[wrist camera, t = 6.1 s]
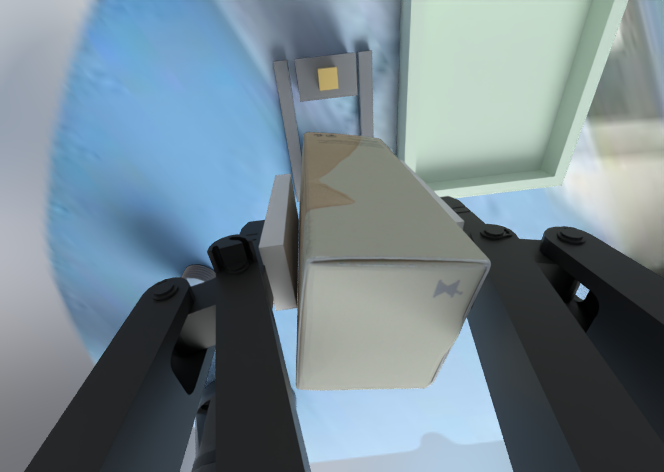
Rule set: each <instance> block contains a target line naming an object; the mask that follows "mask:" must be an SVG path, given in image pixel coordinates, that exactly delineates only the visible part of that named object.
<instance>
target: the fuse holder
mask: <svg viewBox="0 0 664 472" xmlns="http://www.w3.org/2000/svg"><path fill="white" fill-rule="evenodd" d="M294 60H295V67H296V74H297V81H298V88H299V95H300V102H301V101H310V100H319V99H328V98H337V97H345V96H354V95H357V71H356V53H345V54H336V55H327V56H318V57H309V58H300V59H294ZM357 63H358V89H359V114H360V136H364V137H372V138H373V82H372V51H363V52H357ZM273 64H274V70H275V76H276V81H277V87H278V93H279V99H280V104H281V110H282V116H283V121H284V127H285V133H286V139H287V144H288V150H289V156H290V162H291V167H292V173H293V179H294V184H295V190H296V196H297V202H300V187H301V168H302V155H301V148H300V142H299V135H298V129H297V122H296V116H295V109H294V102H293V96H292V89H291V83H290V76H289V70H288V63H287V60H282V61H273Z"/></svg>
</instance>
